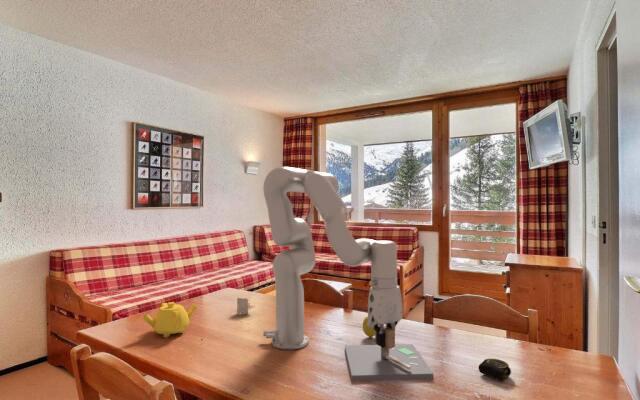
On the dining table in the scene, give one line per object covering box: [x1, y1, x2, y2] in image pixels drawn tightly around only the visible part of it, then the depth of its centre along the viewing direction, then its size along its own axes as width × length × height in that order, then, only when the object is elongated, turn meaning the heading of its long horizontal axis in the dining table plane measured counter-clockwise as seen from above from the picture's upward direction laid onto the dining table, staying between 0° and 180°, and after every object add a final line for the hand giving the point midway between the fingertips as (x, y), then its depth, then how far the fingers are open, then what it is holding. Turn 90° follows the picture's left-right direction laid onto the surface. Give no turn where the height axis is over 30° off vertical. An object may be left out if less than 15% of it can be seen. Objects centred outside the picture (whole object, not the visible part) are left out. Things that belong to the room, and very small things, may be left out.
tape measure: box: [478, 358, 512, 382], centre depth 98 cm, size 7×7×4 cm
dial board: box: [344, 343, 435, 382], centre depth 106 cm, size 22×20×2 cm
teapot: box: [141, 301, 198, 338], centre depth 133 cm, size 20×18×11 cm
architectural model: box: [236, 297, 255, 316], centre depth 155 cm, size 3×7×7 cm, turn 66°
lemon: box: [362, 315, 375, 339], centre depth 126 cm, size 6×6×8 cm
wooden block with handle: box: [374, 325, 411, 370], centre depth 103 cm, size 13×2×9 cm, turn 31°
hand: (384, 344), depth 106 cm, fingers closed on wooden block with handle, 2 cm apart
